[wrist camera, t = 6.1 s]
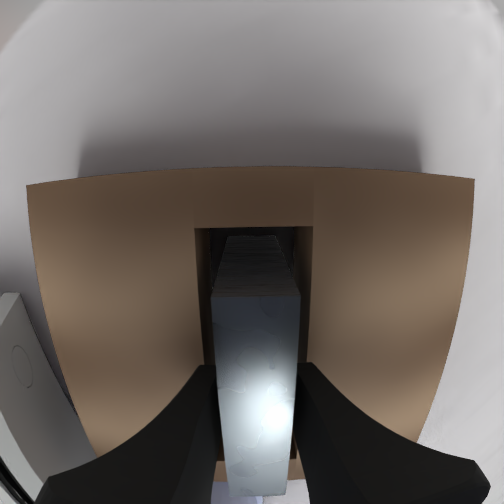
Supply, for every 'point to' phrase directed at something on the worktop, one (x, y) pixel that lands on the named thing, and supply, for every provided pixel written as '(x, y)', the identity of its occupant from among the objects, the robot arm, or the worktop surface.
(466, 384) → the worktop surface
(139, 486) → the robot arm
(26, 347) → the grey arched slab
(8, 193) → the worktop surface
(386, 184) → the slotted tan panel
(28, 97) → the worktop surface
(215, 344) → the grey flat-faced block
